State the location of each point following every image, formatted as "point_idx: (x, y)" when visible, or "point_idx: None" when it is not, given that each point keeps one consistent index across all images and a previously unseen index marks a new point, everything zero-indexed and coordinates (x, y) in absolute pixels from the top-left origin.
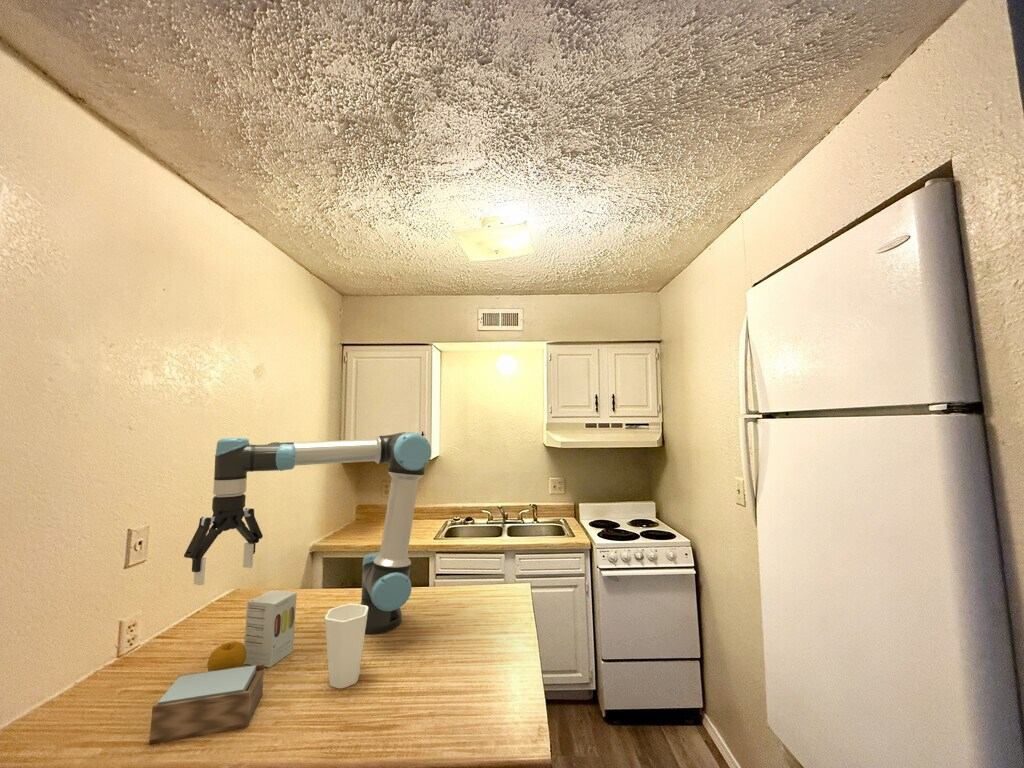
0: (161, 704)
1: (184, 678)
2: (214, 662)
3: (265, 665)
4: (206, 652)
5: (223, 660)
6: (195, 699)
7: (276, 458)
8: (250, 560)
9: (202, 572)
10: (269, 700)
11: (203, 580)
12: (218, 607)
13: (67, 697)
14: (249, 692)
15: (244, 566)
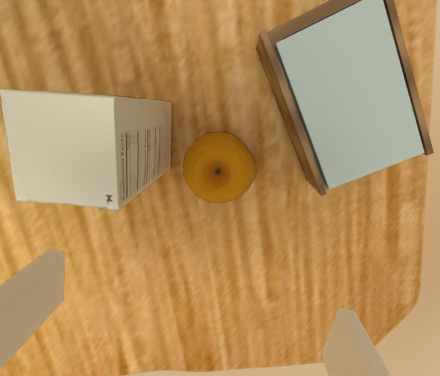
0: (424, 143)
1: (338, 171)
2: (253, 172)
3: (171, 113)
4: (149, 264)
5: (247, 156)
6: (410, 83)
7: None
8: (33, 278)
9: (385, 372)
10: (273, 17)
11: (350, 326)
12: (7, 364)
13: (292, 355)
14: None
15: (61, 293)
